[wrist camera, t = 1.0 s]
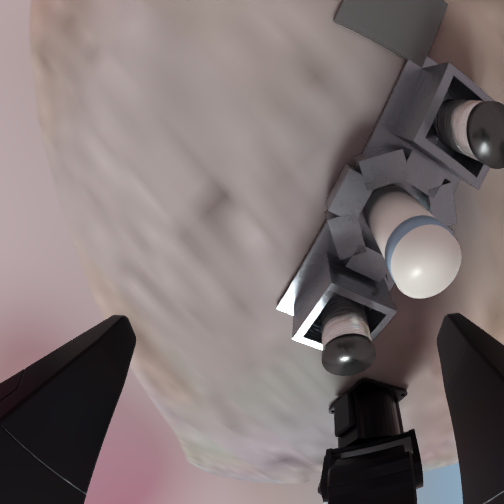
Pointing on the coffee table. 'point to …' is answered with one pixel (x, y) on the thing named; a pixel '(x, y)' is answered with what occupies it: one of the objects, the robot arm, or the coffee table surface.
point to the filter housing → (370, 180)
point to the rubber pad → (395, 24)
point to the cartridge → (412, 242)
